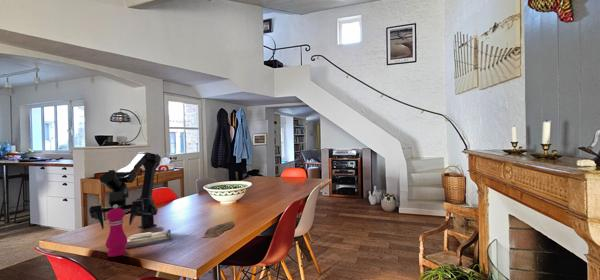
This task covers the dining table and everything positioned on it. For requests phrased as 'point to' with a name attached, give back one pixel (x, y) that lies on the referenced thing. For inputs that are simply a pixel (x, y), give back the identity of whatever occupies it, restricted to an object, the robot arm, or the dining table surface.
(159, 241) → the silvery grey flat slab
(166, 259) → the dining table surface
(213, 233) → the wooden fragment
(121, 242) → the pepper mill
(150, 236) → the birch offcut stack
